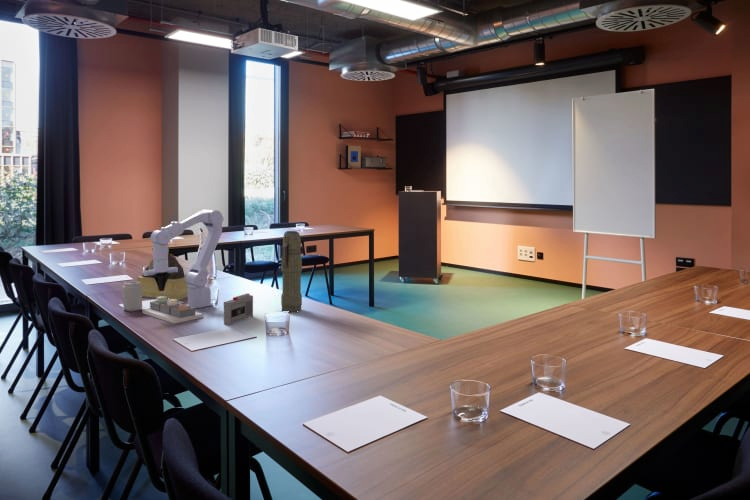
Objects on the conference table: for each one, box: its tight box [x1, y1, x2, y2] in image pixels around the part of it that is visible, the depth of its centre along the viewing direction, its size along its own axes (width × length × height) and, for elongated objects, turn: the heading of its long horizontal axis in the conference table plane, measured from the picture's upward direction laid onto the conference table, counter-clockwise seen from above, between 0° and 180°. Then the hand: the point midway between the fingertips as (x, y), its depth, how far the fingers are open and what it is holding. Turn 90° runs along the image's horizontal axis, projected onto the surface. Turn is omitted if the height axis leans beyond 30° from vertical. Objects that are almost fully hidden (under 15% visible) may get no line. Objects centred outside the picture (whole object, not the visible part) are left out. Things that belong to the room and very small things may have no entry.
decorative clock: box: [136, 243, 188, 301], centre depth 263 cm, size 28×13×30 cm, turn 72°
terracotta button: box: [178, 304, 188, 310], centre depth 221 cm, size 4×4×3 cm
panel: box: [142, 300, 204, 324], centre depth 226 cm, size 13×24×4 cm, turn 51°
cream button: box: [167, 299, 178, 307], centre depth 226 cm, size 4×4×3 cm
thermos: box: [280, 230, 303, 313], centre depth 237 cm, size 9×12×35 cm
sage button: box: [156, 296, 168, 304], centre depth 231 cm, size 4×4×3 cm
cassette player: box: [223, 293, 254, 326], centre depth 220 cm, size 16×3×10 cm, turn 157°
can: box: [122, 280, 143, 312], centre depth 234 cm, size 8×8×12 cm
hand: (161, 290), depth 230 cm, fingers closed
